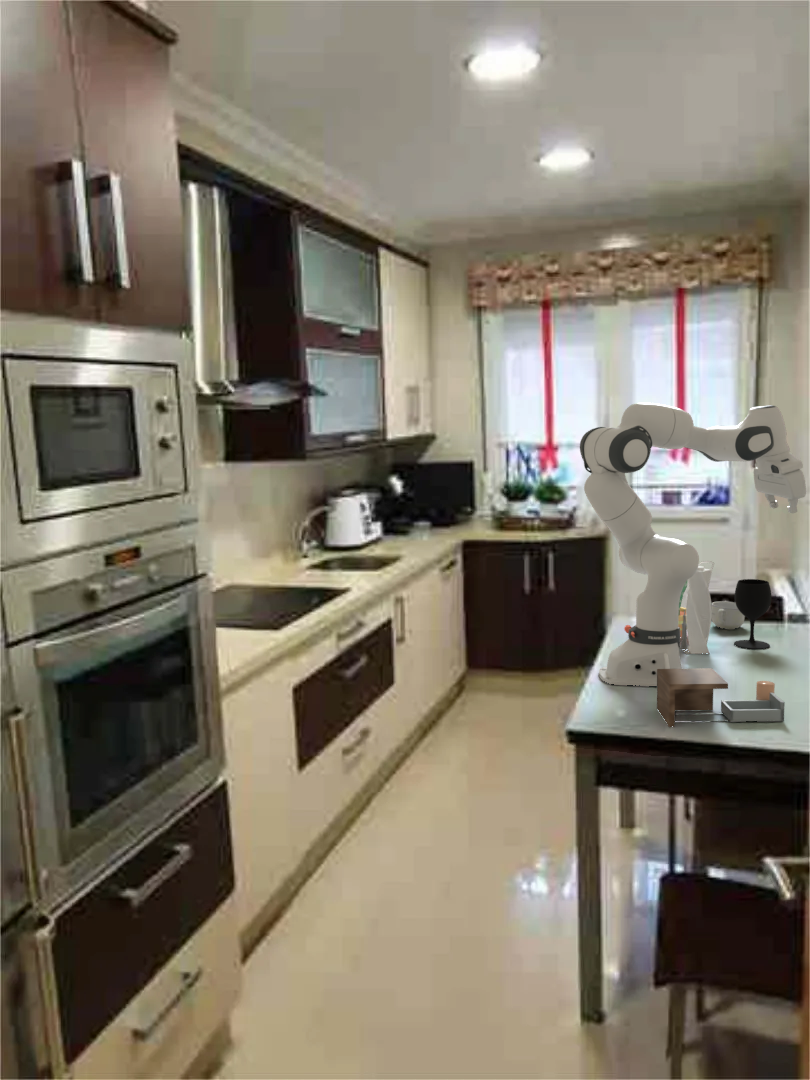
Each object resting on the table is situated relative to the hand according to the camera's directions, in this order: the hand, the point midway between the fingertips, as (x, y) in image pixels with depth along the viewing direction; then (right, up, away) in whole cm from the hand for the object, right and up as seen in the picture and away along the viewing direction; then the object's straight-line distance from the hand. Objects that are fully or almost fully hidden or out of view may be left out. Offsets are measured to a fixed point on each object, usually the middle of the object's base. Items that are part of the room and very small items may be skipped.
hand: (783, 510), depth 229 cm
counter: (-31, -50, -35) cm, 69 cm away
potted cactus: (-18, -40, +40) cm, 59 cm away
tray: (-24, -50, -36) cm, 66 cm away
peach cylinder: (-18, -49, -29) cm, 60 cm away
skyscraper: (-17, -43, +20) cm, 50 cm away
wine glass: (+2, -41, +25) cm, 48 cm away
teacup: (+2, -38, +47) cm, 60 cm away
